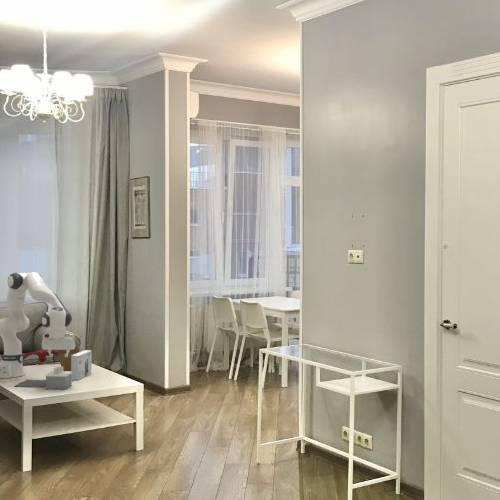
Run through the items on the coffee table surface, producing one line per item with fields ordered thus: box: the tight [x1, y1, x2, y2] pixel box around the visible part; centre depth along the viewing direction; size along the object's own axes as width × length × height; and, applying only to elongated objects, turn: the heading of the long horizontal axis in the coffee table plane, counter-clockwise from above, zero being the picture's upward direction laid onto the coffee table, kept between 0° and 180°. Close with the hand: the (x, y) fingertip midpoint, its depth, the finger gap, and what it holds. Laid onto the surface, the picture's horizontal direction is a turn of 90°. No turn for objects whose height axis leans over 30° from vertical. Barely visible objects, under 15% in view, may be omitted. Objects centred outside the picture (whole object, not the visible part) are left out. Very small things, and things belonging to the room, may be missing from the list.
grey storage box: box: [45, 373, 73, 391], centre depth 429 cm, size 12×10×8 cm
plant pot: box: [57, 345, 81, 371], centre depth 480 cm, size 15×15×16 cm
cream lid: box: [45, 366, 72, 377], centre depth 428 cm, size 13×11×6 cm
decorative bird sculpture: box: [23, 349, 59, 365], centre depth 505 cm, size 28×9×15 cm
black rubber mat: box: [13, 379, 46, 388], centre depth 440 cm, size 20×18×1 cm
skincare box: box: [71, 349, 93, 381], centre depth 460 cm, size 21×5×16 cm, turn 168°
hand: (58, 357), depth 428 cm, fingers open, 8 cm apart
